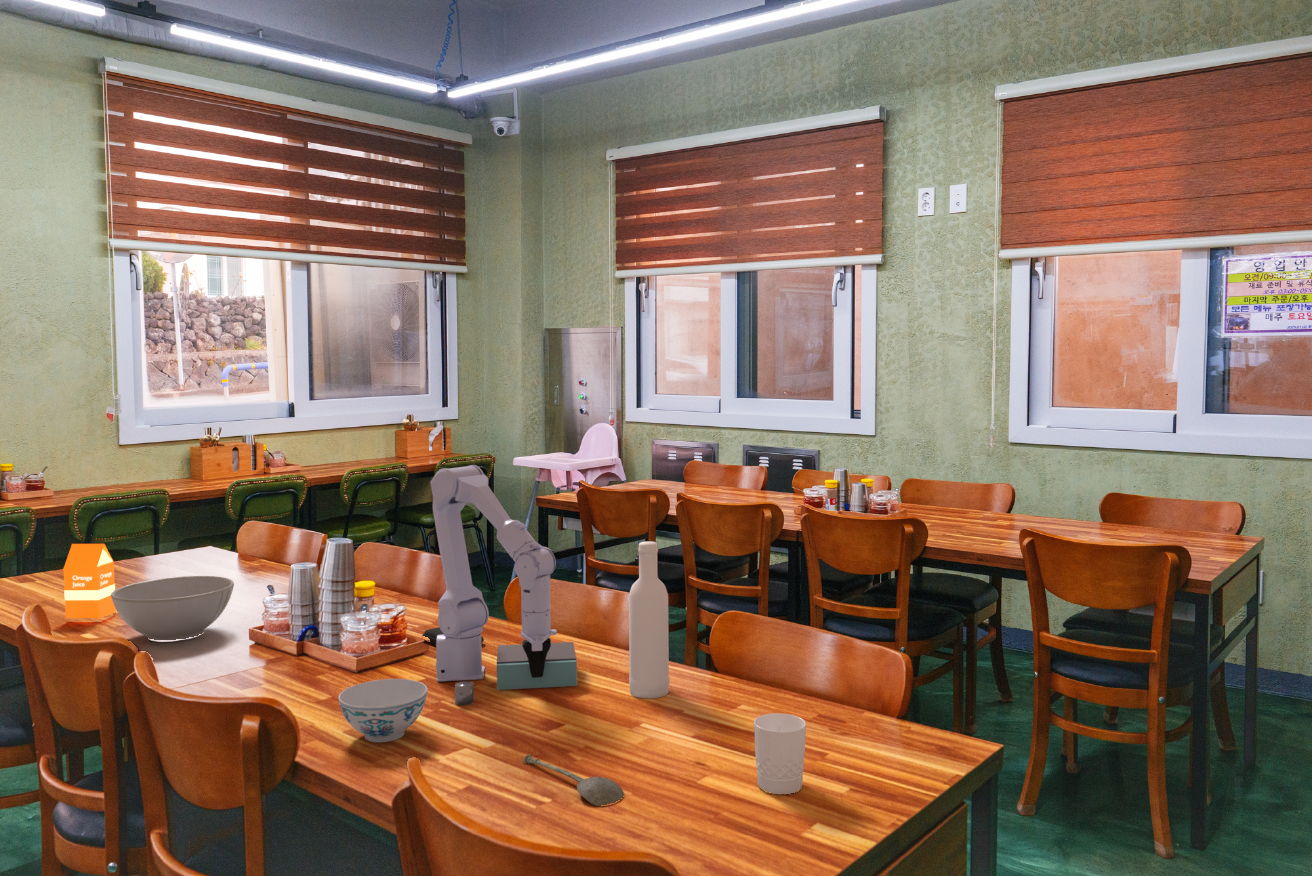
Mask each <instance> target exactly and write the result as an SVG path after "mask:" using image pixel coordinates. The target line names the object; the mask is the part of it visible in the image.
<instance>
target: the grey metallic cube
mask: <svg viewBox="0 0 1312 876" xmlns="http://www.w3.org/2000/svg"><path fill="white" fill-rule="evenodd" d="M454 698H455V700H454V701H455V702H454V703H455V705H457V706H470V705H473V704H474V703H475V683H474V682H473V681H459V682H456V683H455V684H454Z"/></svg>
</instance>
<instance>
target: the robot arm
mask: <svg viewBox="0 0 1312 876" xmlns="http://www.w3.org/2000/svg"><path fill="white" fill-rule="evenodd" d="M430 489H431V493H432V514H433V520H434V525H435V531H436V537H437V542H438V549H439V556H440V560H441V566H442V572H443V577H444V583H445V592H444V593H443V594H442V596H441V597H440V598H439V600H438V602H437V603H438V615H437V625H438V627H440V629H441V631H442V632H443V633H444V634H443V635H437V641H436V645H435V646H436V647H435V648H436V649H435V653H436V655H435V657H436V661H435V670H436V682H452V681H453V682H454V681H455V682H456V681H474V680H483V679H484V676H485V670H486V669H485V665H483V659H482V658H483V656H482V655H483V653H482V644H481V636H482V632H484V626H485V625H486V624H487V623H488V621H489V617H490V616H489V615H490V614H489V608H488V606H487V604H486V602H485V600H484V597H483V592H482V591H481V590H480V589H478V588H477V587H475V586H474V584H473V581H472V574H471V569H470V562H469V555H468V551H467V546H466V545H467V544H466V539H465V534H464V533H465V532H464V527H463V522H462V521H463V520H462V516H461V511H462V510H463V509H464V507H465V506H466V504H473V505H474V506H475V507H476V509H478V510H479V512H481V514H483V516H484V517H485V518H486V519H487V520H488V522H490V523H491V524H492V526H493V527H494V528H495V529H496V539H497V541H498V542H499V543H500V545H501V546H502V547H503V549H504V550H505V551H506V552H507V554H508V555H509V556H510V558H511V559H512V560H513V561H514V563H515V564H514V566H513V568H514V571H515V572H514V573H515V574H516V576H517V577H518V582H519V584H518V585H519V586H520V589H521V592H520V593H521V631H520V636H521V637H522V639H524V640H522V641H521V642H522V643H521V644H522V647H523V649H524V651H525V653H526V655H527V658H528V661H529V667H530V672H531V676H532V678H537V677H542V676H543V672H544V666H545V660H546V656H547V653H548V651H549V649H550V647H551V643H552V641H551V638H550V637H552V636H556V635H557V632H558V631H557V629H555V628H553V629H551V627H552V626H551V625H552V624H551V620H552V619H551V617H552V616H551V615H552V614H551V612H552V610H551V575H552V574H553V573H554V571H555V570H556V566H557V561H556V557H555V554H554V552H553V551H552V549H551V548H549V547H546V546H542V545H541V544H540V543H538V541H536V540H535V539H534V538H533V536H532V535H531V534H530V532H529V531H528V529H526V527H527V525H525V523H524V522H521V521H520V520H518V519H511V517H510V516H509V514H508V513H507V511H506V509H504V506H502V503H501V502H500V500H499V499H498V498H497V497H496V495H495V494H494V492H493V491H492V489H491V487H490V486H489V477H488V476H487V475H486V474H485V473H484V471H483V470H482V469H481V468H480V467H479V466H478V465H476V464H470V465H467V466H459V467H452V468H450V467H449V468H446V467H445V468H440V469H439V470H437V471H436V472H435V475H434V476H433V477H432V479H431V480H430Z"/></svg>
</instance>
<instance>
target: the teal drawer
mask: <svg viewBox="0 0 1312 876" xmlns="http://www.w3.org/2000/svg"><path fill="white" fill-rule="evenodd" d="M577 662H578V661H577V659H576V660H568V661H547V662H545V666H544V672H543V676H542V677H537V678H532V676H531V672H530V667H529V662H526V663H506V664H497V663H496V691H501V690H504V691H505V690H518V689H519V690H522V689H524V690H525V689H539V688H541V689H542V688H558V687H559V688H560V687H577V686H578V663H577Z"/></svg>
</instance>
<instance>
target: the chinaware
mask: <svg viewBox="0 0 1312 876" xmlns="http://www.w3.org/2000/svg"><path fill="white" fill-rule="evenodd" d="M427 696H428V687H427V685H426V684H424V683H423V682H420V681H419V680H418V681H417V680H414V679H409V678H408V679H406V678H405V679H404V678H386V679H384V678H383V679H375V680H370V681H365V682H362V683H358V684H355V685H354V684H353V685H352V686H349V687H347V688H345V689H343V691H342V692H339V694H338V704H339V707H340V709H341V712H342V714H343V716H344V719H345V720H346V722H347V723H348V724H349V725H350V726H351V727H352V728H353V729H355V731H357V732H358V733H360V734H363V735H364V739H365V740H367V741H369V742H371V743H388V742H392V741H396V740H399V739H400V738H402V737H403V736H404V735H405V731H406V730H407V729H408V728H409V727H411V726H412V725H413V724H414V723H415V721H416V720H417V719H418V718H419V717H420V715H421V713H422V711H423V709H424V706H425V704H426V701H427Z"/></svg>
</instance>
